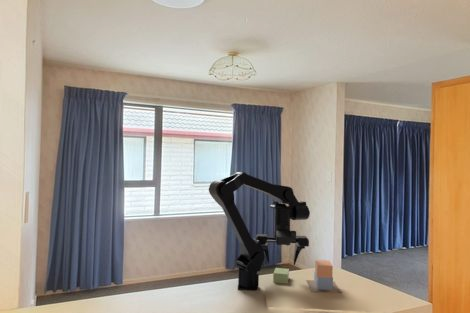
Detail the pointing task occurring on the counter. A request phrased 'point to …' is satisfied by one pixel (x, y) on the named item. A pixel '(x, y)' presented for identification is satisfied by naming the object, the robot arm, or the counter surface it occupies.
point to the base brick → (323, 282)
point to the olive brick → (281, 275)
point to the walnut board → (314, 289)
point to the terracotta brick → (323, 268)
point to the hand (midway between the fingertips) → (281, 264)
